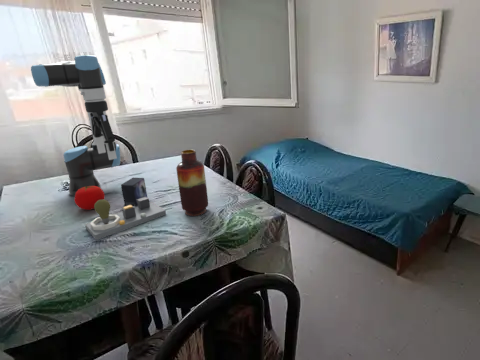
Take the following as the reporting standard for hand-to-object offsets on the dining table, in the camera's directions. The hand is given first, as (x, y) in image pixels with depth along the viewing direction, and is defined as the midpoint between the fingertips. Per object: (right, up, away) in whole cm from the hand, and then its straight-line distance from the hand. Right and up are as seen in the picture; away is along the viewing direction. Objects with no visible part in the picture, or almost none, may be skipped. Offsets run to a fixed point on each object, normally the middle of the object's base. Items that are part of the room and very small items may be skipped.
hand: (107, 155), depth 118 cm
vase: (+34, -23, +8) cm, 42 cm away
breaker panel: (+7, -26, +3) cm, 27 cm away
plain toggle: (+11, -21, +10) cm, 26 cm away
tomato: (-15, -22, +19) cm, 33 cm away
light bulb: (+1, -27, -2) cm, 27 cm away
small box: (+4, -20, +22) cm, 30 cm away
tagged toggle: (+8, -24, +2) cm, 26 cm away
